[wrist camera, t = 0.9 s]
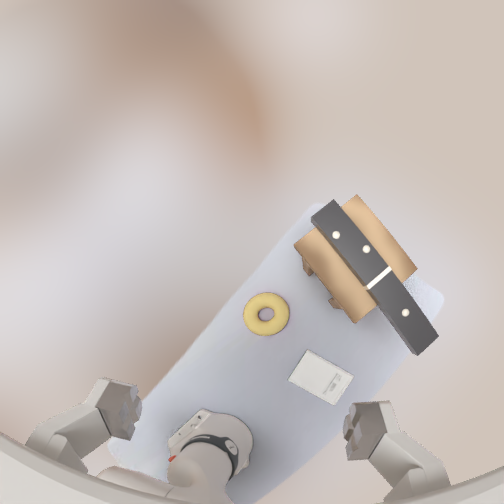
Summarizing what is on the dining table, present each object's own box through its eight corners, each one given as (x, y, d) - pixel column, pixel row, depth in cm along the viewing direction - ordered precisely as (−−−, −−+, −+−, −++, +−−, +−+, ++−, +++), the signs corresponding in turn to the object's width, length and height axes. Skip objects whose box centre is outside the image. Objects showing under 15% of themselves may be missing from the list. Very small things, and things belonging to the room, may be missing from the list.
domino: (411, 353, 38) (417, 356, 35) (310, 222, 43) (311, 216, 41) (432, 334, 38) (439, 335, 35) (332, 204, 43) (334, 198, 41)
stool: (337, 316, 65) (355, 323, 40) (298, 266, 69) (293, 244, 43) (378, 282, 65) (417, 268, 40) (340, 233, 68) (356, 194, 43)
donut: (245, 300, 72) (252, 339, 69) (237, 298, 68) (245, 339, 64) (285, 289, 69) (294, 330, 66) (280, 286, 65) (289, 329, 62)
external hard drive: (307, 348, 66) (353, 374, 63) (287, 378, 65) (333, 404, 62) (307, 349, 64) (354, 376, 61) (287, 380, 64) (334, 406, 61)
